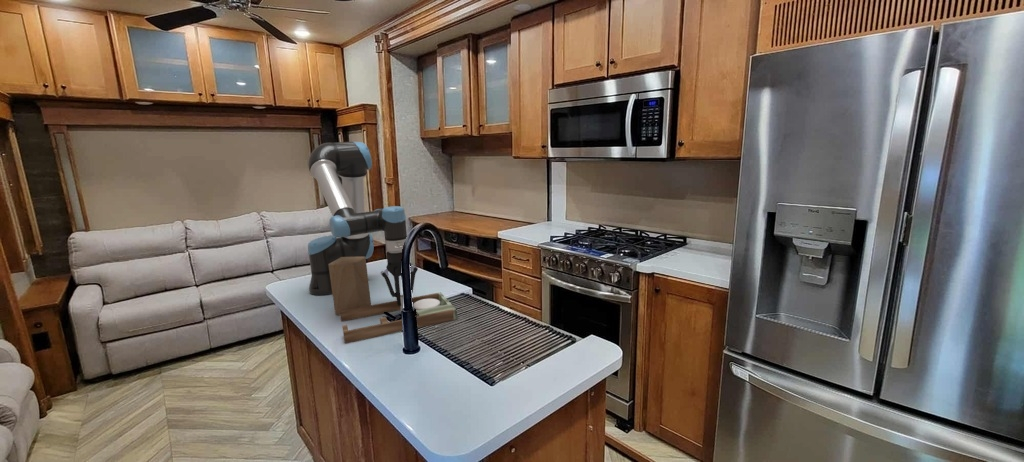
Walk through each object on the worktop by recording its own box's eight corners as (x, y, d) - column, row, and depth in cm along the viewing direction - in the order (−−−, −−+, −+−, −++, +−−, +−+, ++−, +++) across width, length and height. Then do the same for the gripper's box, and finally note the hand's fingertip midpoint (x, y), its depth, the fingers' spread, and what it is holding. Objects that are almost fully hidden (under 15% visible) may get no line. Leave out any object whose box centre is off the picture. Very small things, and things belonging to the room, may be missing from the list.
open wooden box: (341, 320, 153) (339, 311, 153) (441, 300, 168) (440, 292, 168) (344, 343, 135) (343, 332, 134) (457, 319, 150) (456, 309, 149)
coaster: (441, 305, 164) (440, 297, 163) (440, 315, 154) (439, 306, 154) (415, 307, 163) (414, 299, 162) (412, 318, 153) (411, 309, 153)
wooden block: (371, 305, 167) (365, 256, 163) (360, 315, 157) (353, 263, 153) (347, 305, 168) (341, 256, 164) (334, 315, 158) (327, 263, 154)
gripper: (380, 255, 144) (387, 320, 148) (418, 250, 149) (423, 313, 154) (376, 250, 150) (383, 313, 155) (413, 245, 156) (418, 306, 161)
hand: (403, 313), depth 154 cm, fingers closed
